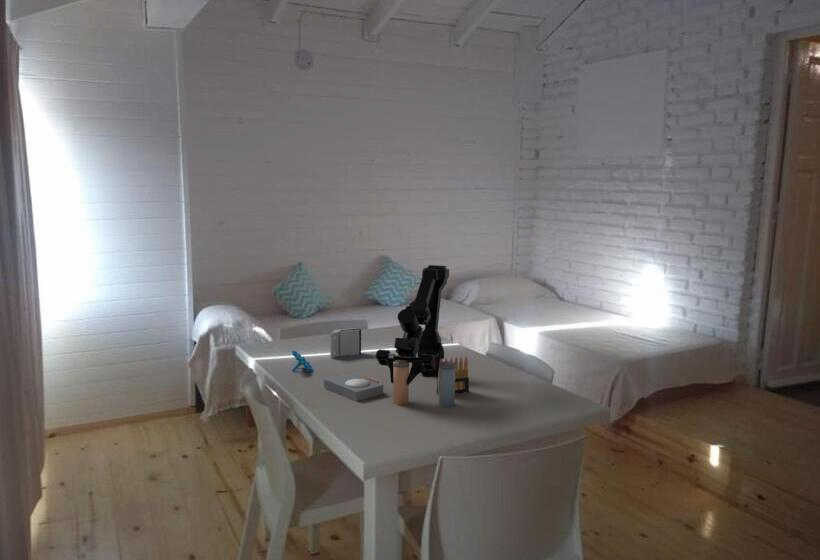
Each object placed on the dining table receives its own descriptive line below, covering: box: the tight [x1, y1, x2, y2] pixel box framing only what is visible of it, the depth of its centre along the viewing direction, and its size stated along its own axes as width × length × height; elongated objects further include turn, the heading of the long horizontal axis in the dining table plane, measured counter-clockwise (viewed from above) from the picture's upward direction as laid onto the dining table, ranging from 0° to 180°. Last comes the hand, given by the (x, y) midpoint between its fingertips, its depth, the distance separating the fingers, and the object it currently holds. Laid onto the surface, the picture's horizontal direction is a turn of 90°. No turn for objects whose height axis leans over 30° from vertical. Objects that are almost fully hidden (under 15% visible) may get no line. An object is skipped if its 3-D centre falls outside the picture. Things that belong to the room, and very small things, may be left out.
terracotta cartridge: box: [392, 360, 410, 406], centre depth 207 cm, size 5×5×13 cm
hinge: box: [329, 327, 362, 359], centre depth 263 cm, size 14×5×10 cm, turn 123°
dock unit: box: [323, 372, 384, 402], centre depth 219 cm, size 12×18×4 cm, turn 42°
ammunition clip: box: [436, 356, 470, 396], centre depth 218 cm, size 11×2×12 cm, turn 110°
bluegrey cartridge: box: [438, 361, 456, 408], centre depth 206 cm, size 5×5×13 cm
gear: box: [291, 350, 314, 372], centre depth 241 cm, size 11×6×10 cm
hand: (399, 383), depth 206 cm, fingers closed on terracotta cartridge, 5 cm apart
